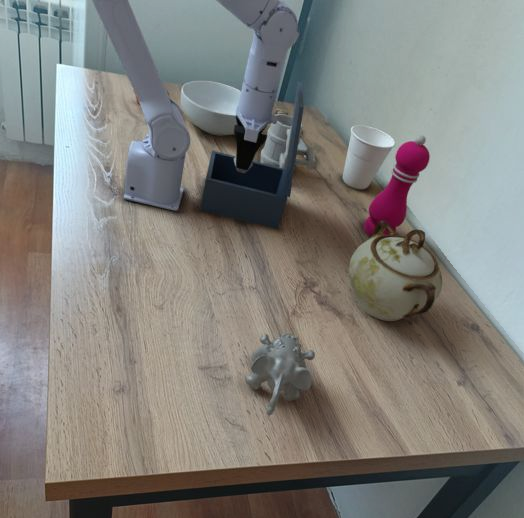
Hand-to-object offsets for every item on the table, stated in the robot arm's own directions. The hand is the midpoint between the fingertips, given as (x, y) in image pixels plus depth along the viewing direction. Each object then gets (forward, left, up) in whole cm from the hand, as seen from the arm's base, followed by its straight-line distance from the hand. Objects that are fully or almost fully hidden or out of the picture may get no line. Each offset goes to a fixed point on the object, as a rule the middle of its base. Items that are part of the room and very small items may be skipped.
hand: (242, 163), depth 96 cm
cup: (+26, +21, -8) cm, 35 cm away
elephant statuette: (+8, -46, -8) cm, 47 cm away
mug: (+8, +18, -8) cm, 22 cm away
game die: (0, 0, -2) cm, 2 cm away
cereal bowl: (-7, +31, -8) cm, 33 cm away
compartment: (+1, 0, -8) cm, 8 cm away
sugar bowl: (+26, -22, -8) cm, 35 cm away
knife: (+13, +36, -8) cm, 40 cm away
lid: (+7, 0, +6) cm, 10 cm away
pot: (-22, +33, -8) cm, 40 cm away
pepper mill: (+29, +2, -8) cm, 31 cm away
